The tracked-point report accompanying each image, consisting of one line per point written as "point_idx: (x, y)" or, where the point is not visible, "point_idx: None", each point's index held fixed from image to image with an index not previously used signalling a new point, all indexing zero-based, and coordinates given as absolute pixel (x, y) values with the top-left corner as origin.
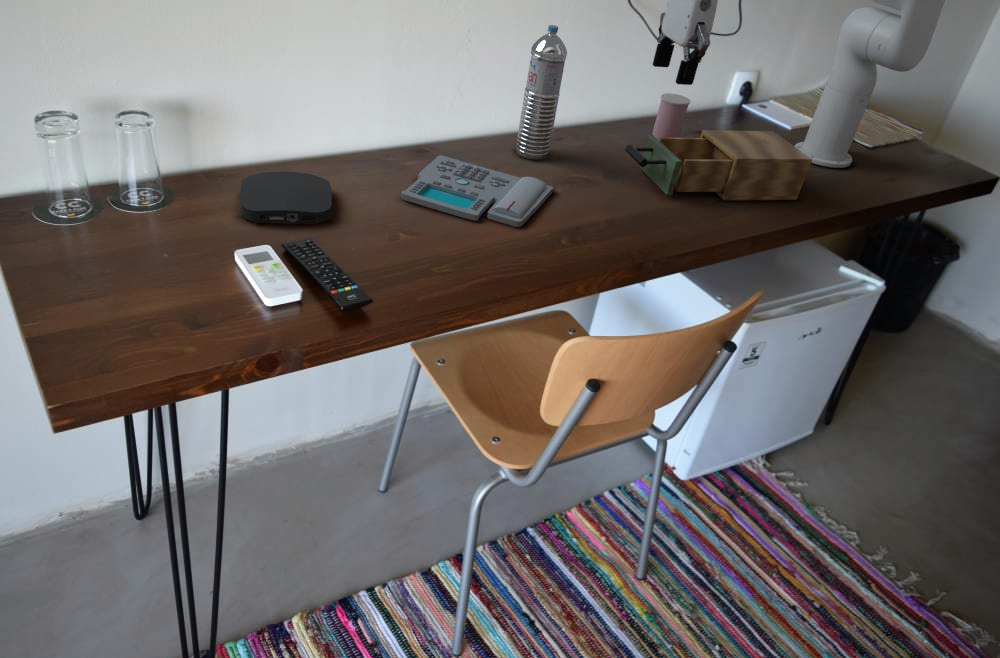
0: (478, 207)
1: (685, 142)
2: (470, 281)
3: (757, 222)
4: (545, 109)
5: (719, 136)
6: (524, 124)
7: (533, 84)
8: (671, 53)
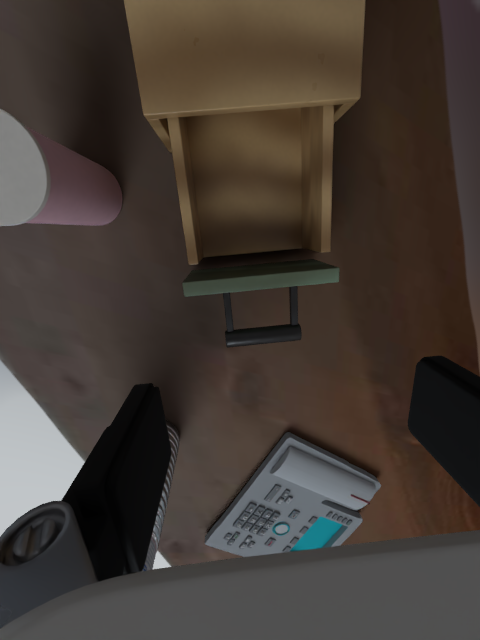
0: (346, 518)
1: (189, 189)
2: (467, 523)
3: (412, 105)
4: (163, 512)
5: (190, 69)
6: None
7: None
8: (136, 443)
